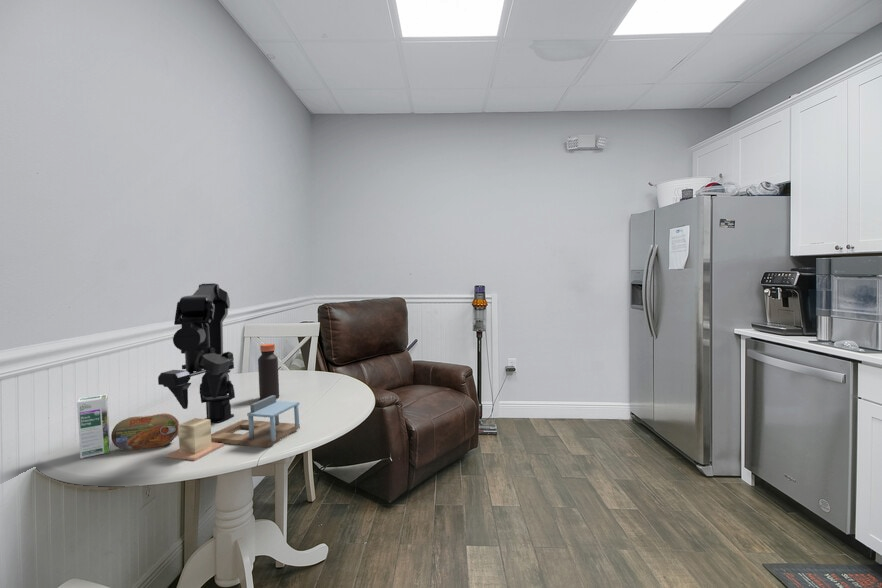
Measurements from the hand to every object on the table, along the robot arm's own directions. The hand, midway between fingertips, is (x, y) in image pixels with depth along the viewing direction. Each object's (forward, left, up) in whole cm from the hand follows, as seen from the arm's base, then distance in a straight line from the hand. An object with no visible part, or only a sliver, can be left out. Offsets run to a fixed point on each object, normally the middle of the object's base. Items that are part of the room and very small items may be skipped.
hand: (200, 403), depth 108 cm
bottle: (-12, +42, -12) cm, 45 cm away
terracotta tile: (+1, -3, -12) cm, 12 cm away
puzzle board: (+8, +10, -12) cm, 17 cm away
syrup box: (-25, -9, -12) cm, 29 cm away
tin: (-15, -3, -12) cm, 19 cm away
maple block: (+1, -3, -11) cm, 11 cm away
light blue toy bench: (+15, +10, -10) cm, 21 cm away
